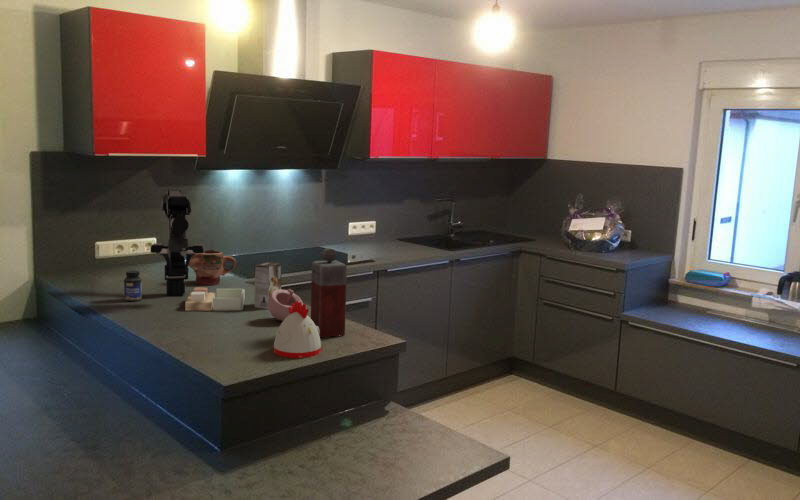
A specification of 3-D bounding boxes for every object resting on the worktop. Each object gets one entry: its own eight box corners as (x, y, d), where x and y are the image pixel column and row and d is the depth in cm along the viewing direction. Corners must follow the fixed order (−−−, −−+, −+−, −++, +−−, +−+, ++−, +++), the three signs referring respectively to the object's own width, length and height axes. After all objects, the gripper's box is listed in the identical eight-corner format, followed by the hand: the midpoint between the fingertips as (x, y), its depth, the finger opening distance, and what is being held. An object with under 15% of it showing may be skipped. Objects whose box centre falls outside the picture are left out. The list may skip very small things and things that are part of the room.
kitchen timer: (294, 361, 192) (295, 309, 190) (264, 350, 201) (264, 300, 199) (330, 351, 202) (332, 302, 200) (300, 341, 211) (301, 294, 209)
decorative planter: (235, 280, 302) (235, 249, 300) (236, 285, 290) (236, 253, 288) (188, 280, 297) (188, 249, 295) (187, 286, 285) (186, 253, 283)
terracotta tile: (193, 296, 254) (193, 289, 253) (195, 293, 258) (194, 287, 258) (206, 296, 255) (206, 289, 254) (207, 293, 259) (207, 287, 259)
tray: (212, 310, 246) (212, 298, 245) (216, 300, 262) (216, 288, 262) (242, 310, 248) (242, 298, 247) (244, 300, 264) (244, 288, 264)
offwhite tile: (191, 301, 246) (191, 294, 246) (192, 298, 250) (192, 291, 250) (204, 301, 247) (204, 294, 247) (205, 298, 251) (205, 291, 251)
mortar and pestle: (286, 326, 228) (287, 293, 226) (260, 321, 234) (260, 288, 232) (309, 320, 238) (310, 287, 236) (283, 314, 244) (284, 283, 242)
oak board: (185, 310, 244) (185, 302, 244) (190, 300, 260) (190, 292, 260) (211, 310, 246) (211, 302, 245) (215, 300, 262) (215, 292, 262)
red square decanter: (333, 327, 230) (335, 245, 226) (345, 335, 220) (347, 250, 216) (307, 329, 226) (309, 245, 222) (318, 338, 216) (320, 250, 212)
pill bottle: (125, 302, 253) (124, 273, 251) (123, 299, 258) (122, 270, 256) (142, 301, 255) (142, 272, 254) (140, 298, 261) (140, 269, 259)
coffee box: (267, 302, 262) (267, 261, 259) (281, 304, 259) (282, 263, 257) (253, 307, 253) (254, 264, 251) (268, 309, 251) (269, 266, 248)
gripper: (147, 231, 242) (148, 275, 244) (202, 232, 245) (202, 275, 248) (152, 228, 253) (153, 269, 255) (204, 229, 256) (205, 270, 258)
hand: (178, 271), depth 254 cm, fingers open, 5 cm apart
